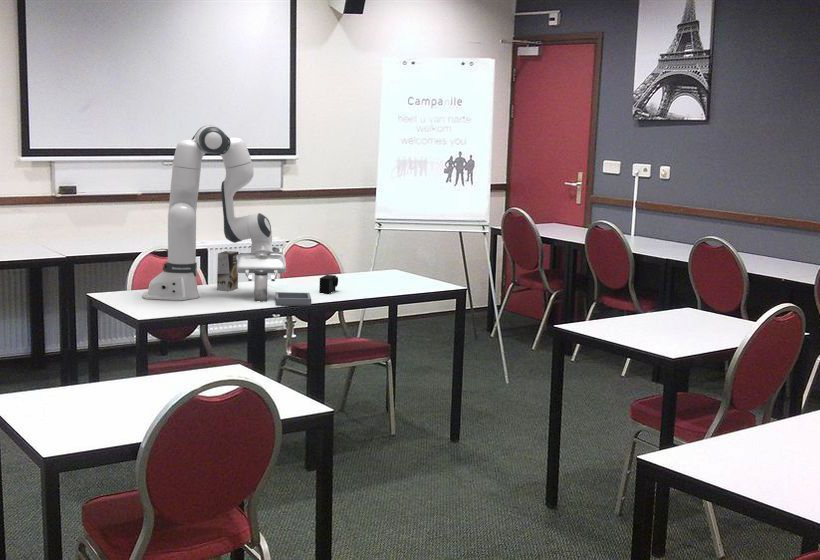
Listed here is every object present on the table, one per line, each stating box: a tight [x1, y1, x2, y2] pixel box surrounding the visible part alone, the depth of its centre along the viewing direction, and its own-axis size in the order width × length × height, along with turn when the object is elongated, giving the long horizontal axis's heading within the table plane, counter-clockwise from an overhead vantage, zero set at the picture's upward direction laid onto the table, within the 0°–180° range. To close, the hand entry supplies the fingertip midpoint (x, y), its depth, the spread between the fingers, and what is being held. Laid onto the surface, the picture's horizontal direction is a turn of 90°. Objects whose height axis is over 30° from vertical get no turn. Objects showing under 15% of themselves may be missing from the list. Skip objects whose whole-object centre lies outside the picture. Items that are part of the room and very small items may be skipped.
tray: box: [274, 291, 312, 307], centre depth 390 cm, size 14×14×3 cm
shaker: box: [253, 269, 269, 303], centre depth 391 cm, size 5×5×13 cm
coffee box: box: [216, 250, 240, 292], centre depth 414 cm, size 9×6×16 cm
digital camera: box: [318, 274, 339, 295], centre depth 418 cm, size 10×5×7 cm, turn 168°
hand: (261, 280), depth 392 cm, fingers open, 8 cm apart
